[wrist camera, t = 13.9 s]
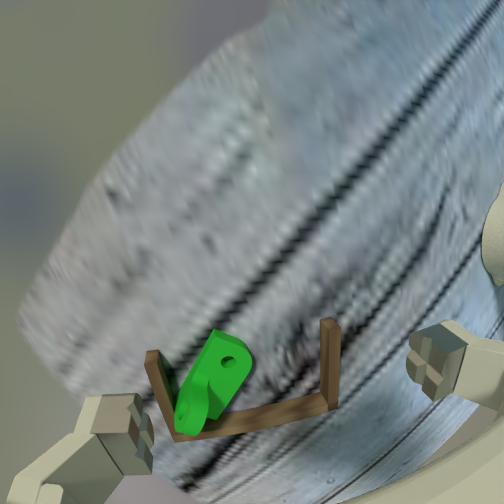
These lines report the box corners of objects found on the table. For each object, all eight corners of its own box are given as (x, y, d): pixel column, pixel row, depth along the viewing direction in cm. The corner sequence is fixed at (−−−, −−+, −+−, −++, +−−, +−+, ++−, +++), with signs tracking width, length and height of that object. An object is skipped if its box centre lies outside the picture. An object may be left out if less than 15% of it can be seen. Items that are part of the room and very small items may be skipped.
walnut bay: (330, 316, 39) (340, 327, 36) (329, 396, 42) (337, 408, 40) (146, 351, 35) (144, 365, 32) (174, 427, 39) (174, 442, 36)
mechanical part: (215, 410, 40) (221, 452, 32) (174, 397, 38) (174, 440, 30) (257, 345, 38) (273, 384, 30) (213, 327, 36) (220, 367, 29)
